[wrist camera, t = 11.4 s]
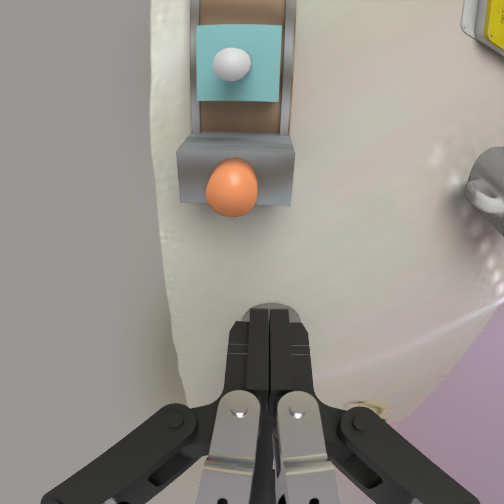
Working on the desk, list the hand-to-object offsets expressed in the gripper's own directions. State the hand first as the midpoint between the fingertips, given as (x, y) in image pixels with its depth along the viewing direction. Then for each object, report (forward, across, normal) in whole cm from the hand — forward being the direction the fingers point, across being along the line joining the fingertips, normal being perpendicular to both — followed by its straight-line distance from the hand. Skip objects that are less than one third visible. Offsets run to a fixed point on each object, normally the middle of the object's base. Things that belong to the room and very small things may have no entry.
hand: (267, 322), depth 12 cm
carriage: (+23, +2, -9) cm, 25 cm away
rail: (+25, +2, -13) cm, 28 cm away
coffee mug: (+25, -30, +1) cm, 39 cm away
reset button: (+17, +3, +1) cm, 17 cm away
